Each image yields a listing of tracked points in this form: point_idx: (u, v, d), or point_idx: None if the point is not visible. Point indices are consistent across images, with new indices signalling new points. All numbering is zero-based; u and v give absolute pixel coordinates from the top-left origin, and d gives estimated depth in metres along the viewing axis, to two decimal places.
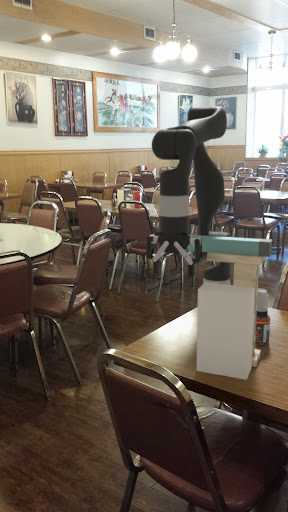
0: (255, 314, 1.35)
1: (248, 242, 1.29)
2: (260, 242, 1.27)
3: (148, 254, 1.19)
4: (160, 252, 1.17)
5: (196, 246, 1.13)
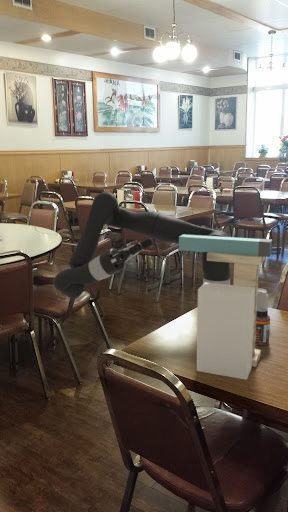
0: (255, 314, 1.35)
1: (248, 242, 1.29)
2: (260, 242, 1.27)
3: None
4: (136, 254, 1.48)
5: (118, 262, 1.41)
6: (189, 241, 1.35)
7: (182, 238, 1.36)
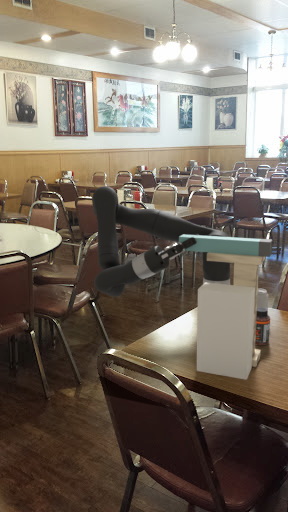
0: (255, 314, 1.35)
1: (248, 242, 1.29)
2: (260, 242, 1.27)
3: None
4: None
5: (169, 258, 1.35)
6: None
7: (182, 238, 1.36)
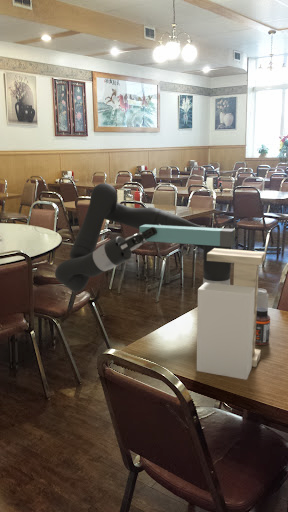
0: (255, 314, 1.35)
1: (209, 232, 1.23)
2: (221, 231, 1.22)
3: None
4: None
5: (129, 248, 1.29)
6: None
7: (142, 228, 1.30)
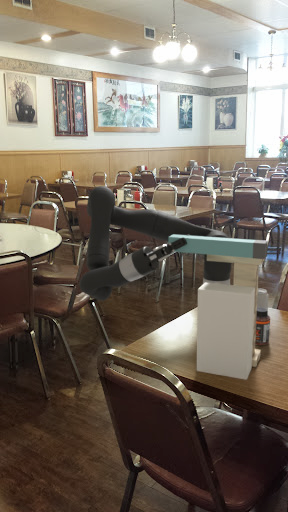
0: (255, 314, 1.35)
1: (242, 243, 1.20)
2: (254, 243, 1.19)
3: None
4: (172, 253, 1.33)
5: (158, 259, 1.27)
6: None
7: (172, 238, 1.28)
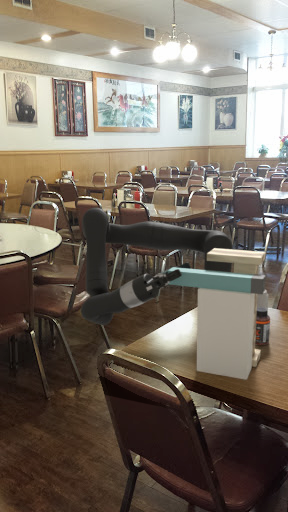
0: (255, 314, 1.35)
1: (240, 278, 1.22)
2: (252, 279, 1.21)
3: None
4: None
5: (154, 290, 1.28)
6: None
7: None
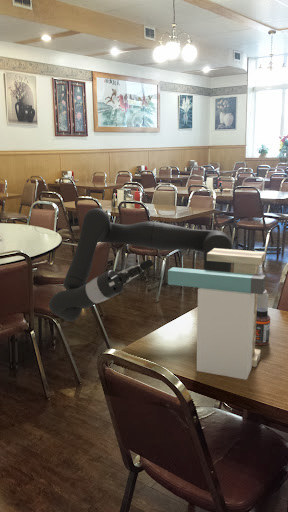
0: (255, 314, 1.35)
1: (240, 278, 1.22)
2: (252, 279, 1.21)
3: None
4: (136, 276, 1.40)
5: (116, 286, 1.33)
6: (178, 275, 1.29)
7: (171, 272, 1.30)
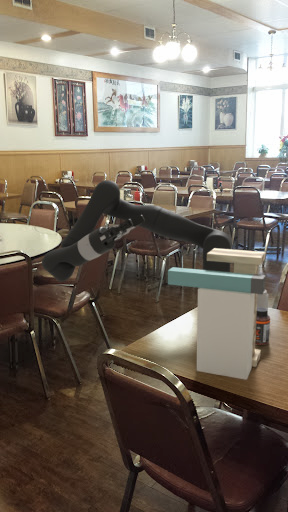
0: (255, 314, 1.35)
1: (240, 278, 1.22)
2: (252, 279, 1.21)
3: (133, 228, 1.44)
4: None
5: (107, 240, 1.34)
6: (178, 275, 1.29)
7: (171, 272, 1.30)
